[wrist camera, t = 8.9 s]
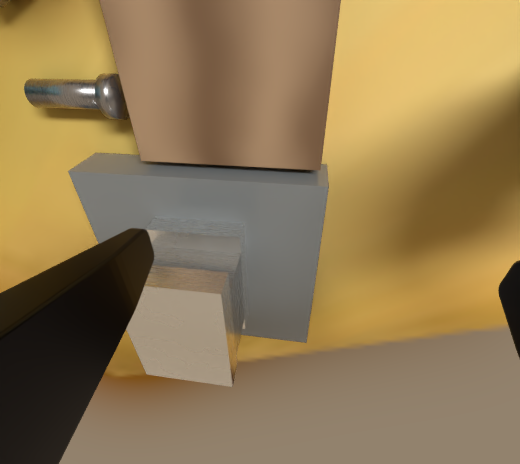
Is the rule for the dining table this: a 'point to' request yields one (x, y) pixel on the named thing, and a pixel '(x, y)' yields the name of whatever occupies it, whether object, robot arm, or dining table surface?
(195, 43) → the stand
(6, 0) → the bolt
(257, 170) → the stand
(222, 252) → the block
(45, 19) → the dining table surface
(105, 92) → the bolt
